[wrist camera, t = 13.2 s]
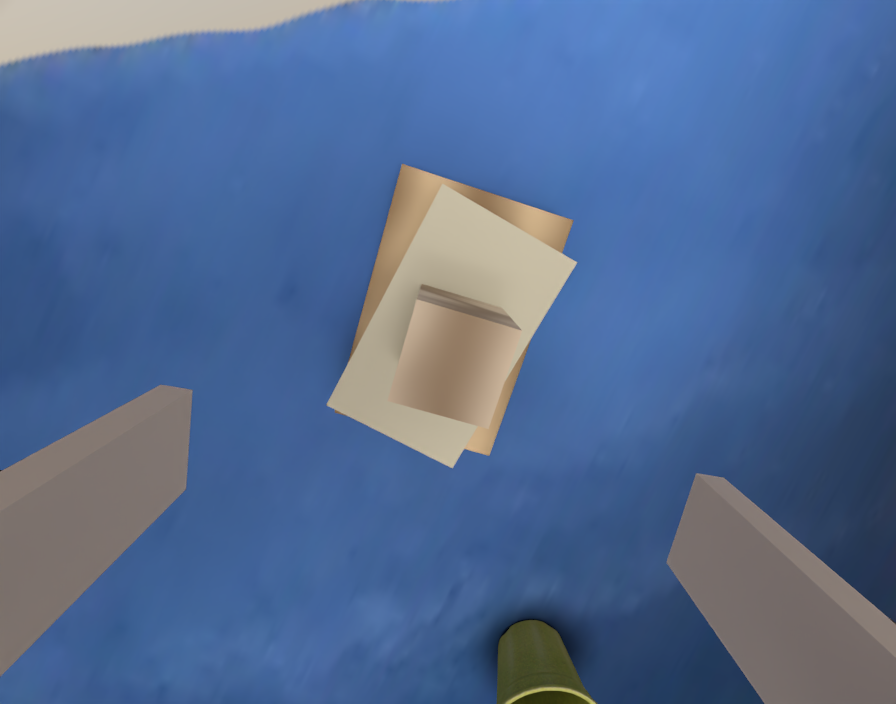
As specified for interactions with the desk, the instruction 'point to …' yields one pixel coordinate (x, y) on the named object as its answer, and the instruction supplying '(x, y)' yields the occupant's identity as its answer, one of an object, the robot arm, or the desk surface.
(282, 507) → the desk surface
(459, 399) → the ash block
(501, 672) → the plant pot
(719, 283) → the desk surface
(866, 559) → the desk surface
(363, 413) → the middle block
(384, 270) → the bottom block
